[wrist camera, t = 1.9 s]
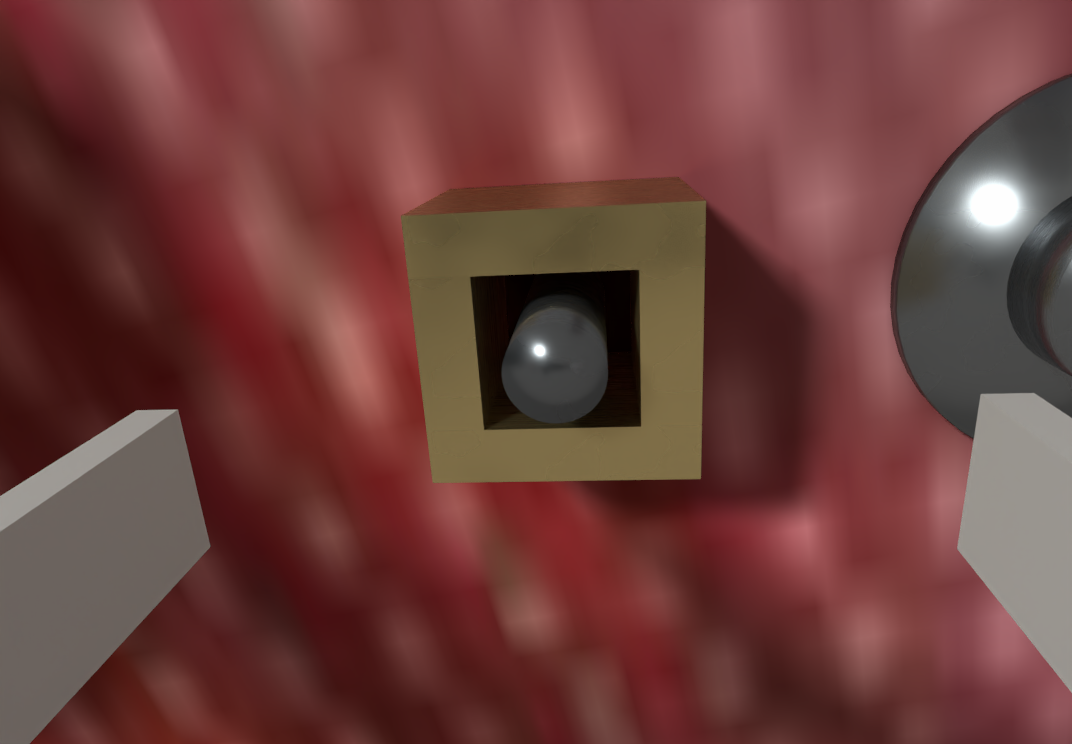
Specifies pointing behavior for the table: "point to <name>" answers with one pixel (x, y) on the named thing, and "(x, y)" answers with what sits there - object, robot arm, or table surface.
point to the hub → (993, 264)
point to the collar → (483, 337)
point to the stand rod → (559, 348)
